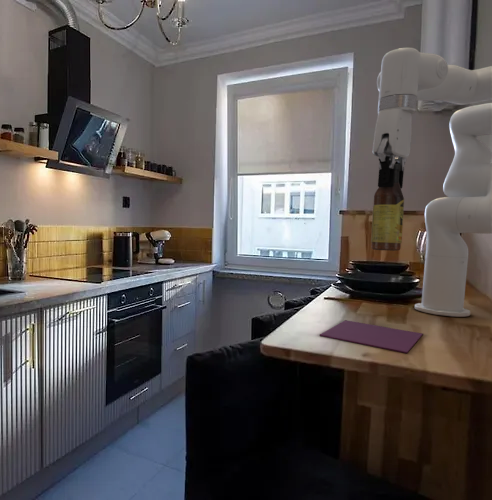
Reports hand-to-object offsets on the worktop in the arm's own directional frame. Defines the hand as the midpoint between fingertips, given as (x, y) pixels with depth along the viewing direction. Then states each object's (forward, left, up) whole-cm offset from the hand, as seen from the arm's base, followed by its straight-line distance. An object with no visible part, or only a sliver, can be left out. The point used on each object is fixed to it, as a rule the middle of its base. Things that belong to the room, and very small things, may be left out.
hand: (390, 187), depth 98 cm
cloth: (+11, +3, -33) cm, 35 cm away
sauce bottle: (0, 0, -15) cm, 15 cm away
